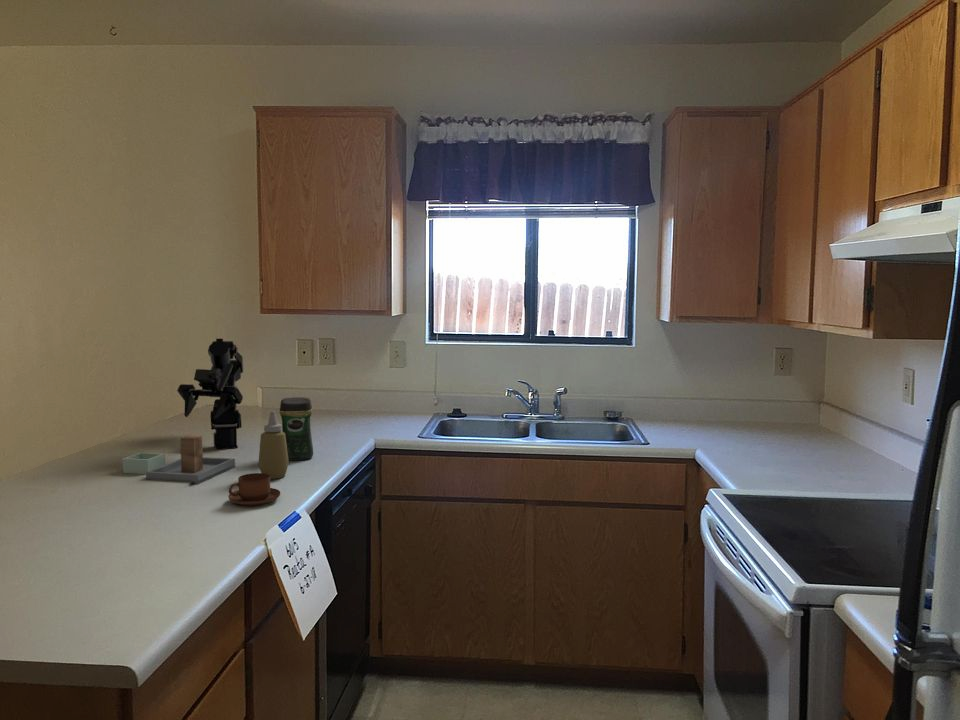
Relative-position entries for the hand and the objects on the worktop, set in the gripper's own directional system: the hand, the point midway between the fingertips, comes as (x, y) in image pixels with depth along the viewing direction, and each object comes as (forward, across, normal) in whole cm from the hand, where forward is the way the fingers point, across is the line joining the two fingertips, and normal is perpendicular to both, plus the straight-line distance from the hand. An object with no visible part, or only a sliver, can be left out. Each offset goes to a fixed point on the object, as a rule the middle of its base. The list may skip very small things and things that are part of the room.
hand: (199, 417), depth 212 cm
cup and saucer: (+33, +35, -15) cm, 50 cm away
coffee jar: (+3, +26, +16) cm, 31 cm away
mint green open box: (+20, -8, -1) cm, 21 cm away
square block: (+18, +6, -1) cm, 19 cm away
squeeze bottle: (+18, +29, 0) cm, 34 cm away
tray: (+19, +6, -1) cm, 20 cm away
